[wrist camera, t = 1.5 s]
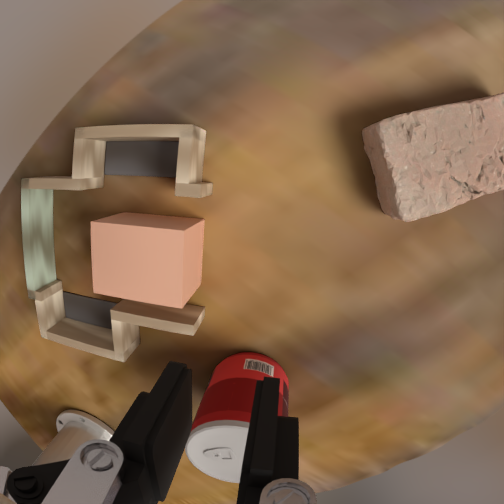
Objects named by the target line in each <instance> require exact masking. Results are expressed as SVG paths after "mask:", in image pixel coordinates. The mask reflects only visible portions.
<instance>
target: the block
mask: <svg viewBox="0 0 504 504" xmlns="http://www.w3.org/2000/svg"><path fill="white" fill-rule="evenodd" d="M204 220H205V219H197V218H187V217H176V216H165V215H153V214H141V213H129V212H123V213H119V214H116V215H112V216H108V217H105V218H101V219H98V220H95V221H91V256H92V276H93V290H94V293H98V294H103V295H108V296H113V297H118V298H123V299H129V300H134V301H139V302H145V303H151V304H156V305H162V306H168V307H174V308H181V309H182V308H183V307H184V305H185V304H186V303H187V301H188V300H189V299H190V298H191V296H192V295H193V294H194V292H195V291H196V290H197V288H198V287H199V286H200V284H201V275H202V254H203V236H204Z"/></svg>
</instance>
